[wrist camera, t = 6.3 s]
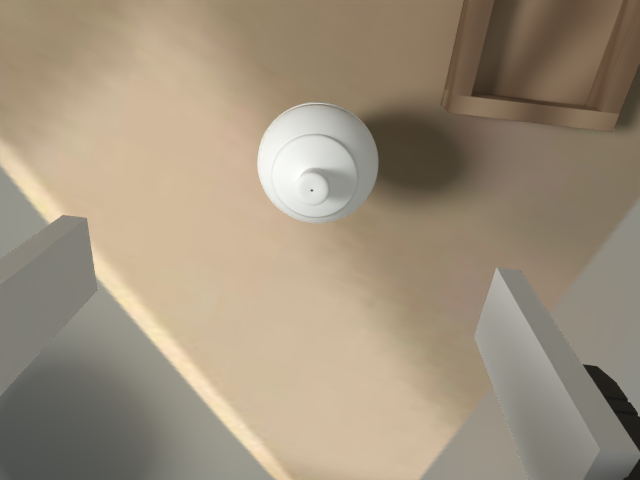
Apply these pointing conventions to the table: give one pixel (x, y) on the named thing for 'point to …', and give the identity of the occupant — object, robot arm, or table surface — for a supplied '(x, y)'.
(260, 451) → the table surface
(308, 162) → the spinning top
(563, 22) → the tray
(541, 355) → the robot arm
